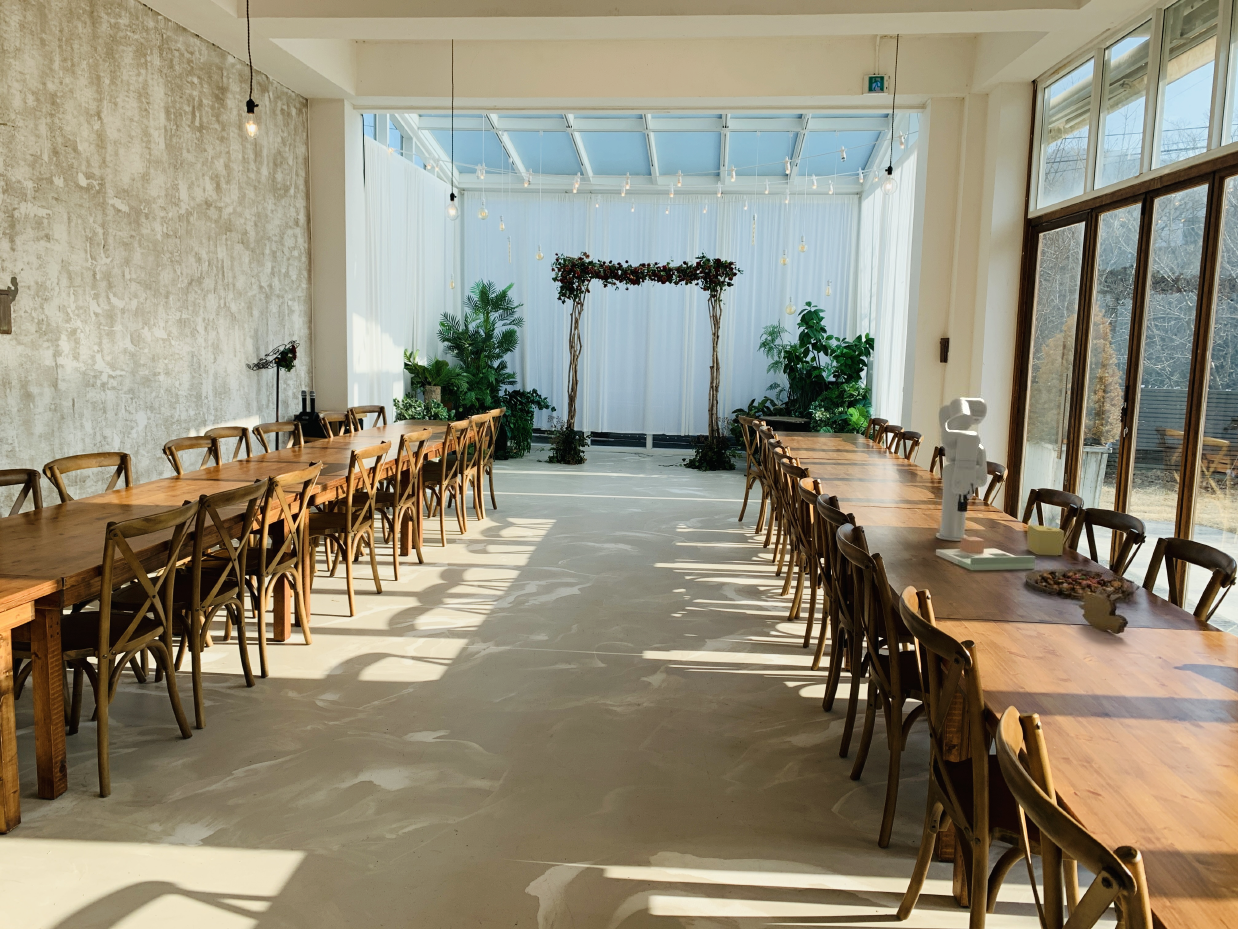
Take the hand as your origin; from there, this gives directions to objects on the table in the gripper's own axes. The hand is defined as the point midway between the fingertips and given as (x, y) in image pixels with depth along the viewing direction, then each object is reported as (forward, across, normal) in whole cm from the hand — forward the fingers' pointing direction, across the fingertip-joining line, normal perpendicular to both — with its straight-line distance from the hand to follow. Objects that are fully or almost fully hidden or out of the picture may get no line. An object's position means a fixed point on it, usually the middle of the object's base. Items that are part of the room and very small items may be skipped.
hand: (962, 511), depth 343 cm
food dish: (+17, +56, +9) cm, 59 cm away
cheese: (+16, +4, +34) cm, 38 cm away
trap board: (+16, +15, 0) cm, 22 cm away
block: (+14, +8, 0) cm, 16 cm away
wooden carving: (+18, +95, -14) cm, 98 cm away
